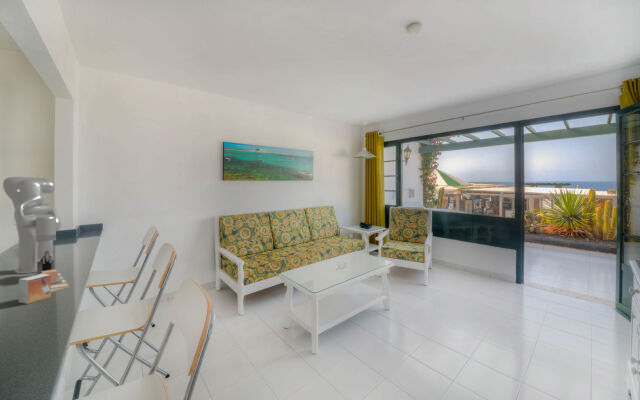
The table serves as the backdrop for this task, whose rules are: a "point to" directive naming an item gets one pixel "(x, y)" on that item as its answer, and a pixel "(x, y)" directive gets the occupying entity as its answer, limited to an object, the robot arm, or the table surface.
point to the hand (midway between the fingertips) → (45, 268)
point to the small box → (34, 288)
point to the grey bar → (39, 269)
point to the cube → (52, 273)
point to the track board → (59, 284)
